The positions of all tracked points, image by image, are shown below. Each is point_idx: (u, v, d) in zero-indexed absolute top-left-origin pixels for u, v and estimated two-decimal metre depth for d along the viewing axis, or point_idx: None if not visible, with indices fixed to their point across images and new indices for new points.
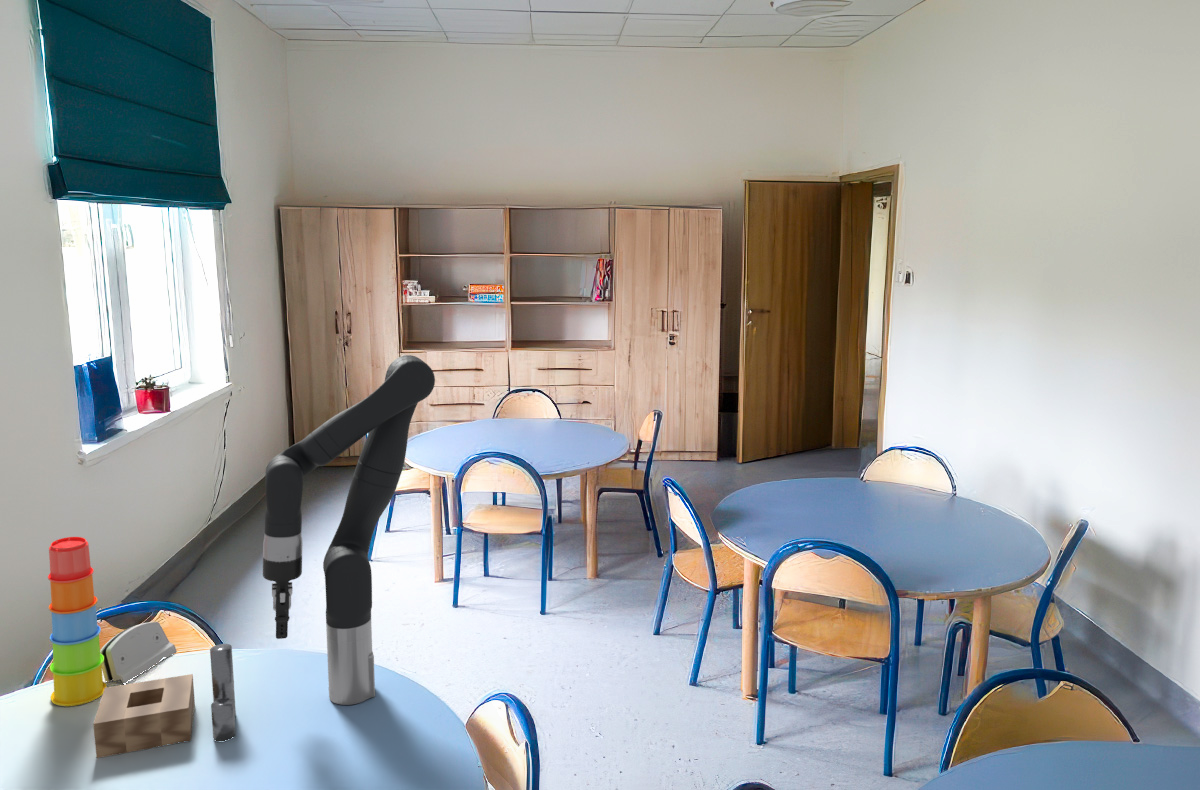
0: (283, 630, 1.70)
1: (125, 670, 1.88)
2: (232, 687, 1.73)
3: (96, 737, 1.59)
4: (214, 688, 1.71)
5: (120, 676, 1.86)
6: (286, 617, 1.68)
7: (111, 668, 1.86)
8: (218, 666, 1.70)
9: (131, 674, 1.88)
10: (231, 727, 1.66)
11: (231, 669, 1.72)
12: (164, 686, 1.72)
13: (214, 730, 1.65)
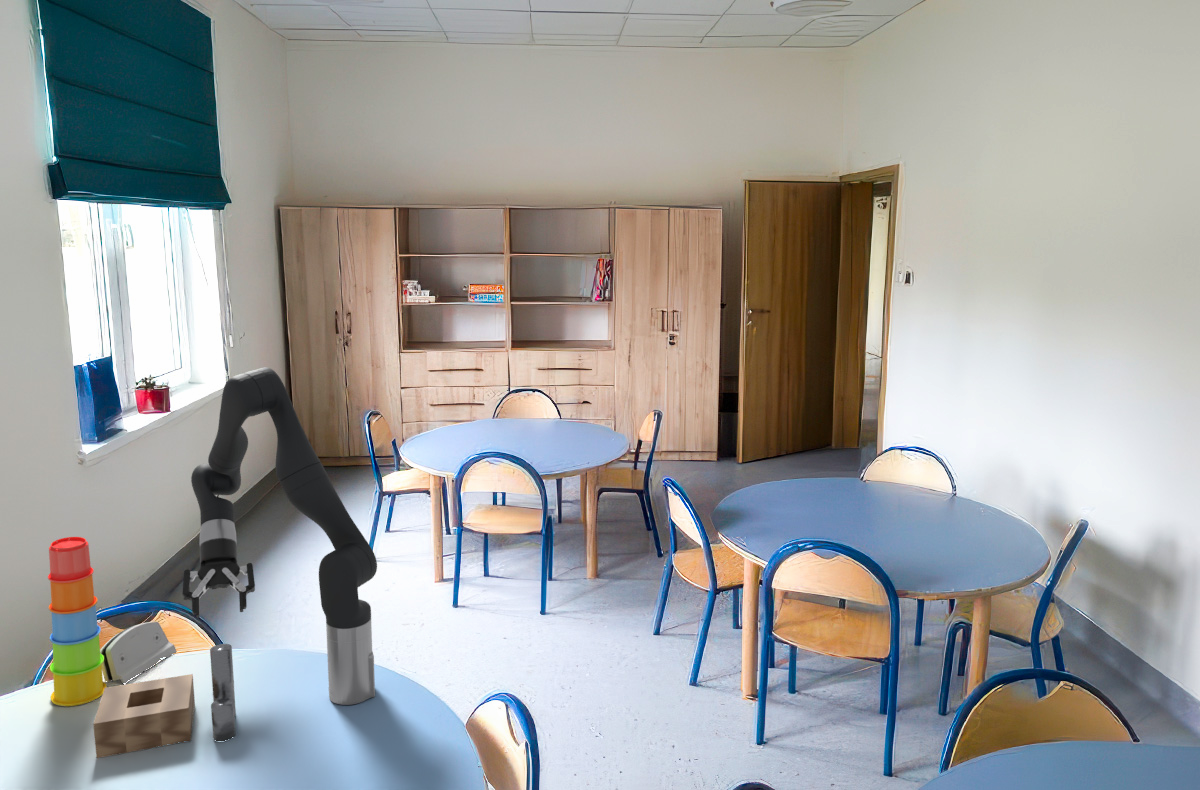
0: None
1: (125, 670, 1.88)
2: (232, 687, 1.73)
3: (96, 737, 1.59)
4: (214, 688, 1.71)
5: (120, 676, 1.86)
6: None
7: (111, 668, 1.86)
8: (218, 666, 1.70)
9: (131, 674, 1.88)
10: (231, 727, 1.66)
11: (231, 669, 1.72)
12: (164, 686, 1.72)
13: (214, 730, 1.65)
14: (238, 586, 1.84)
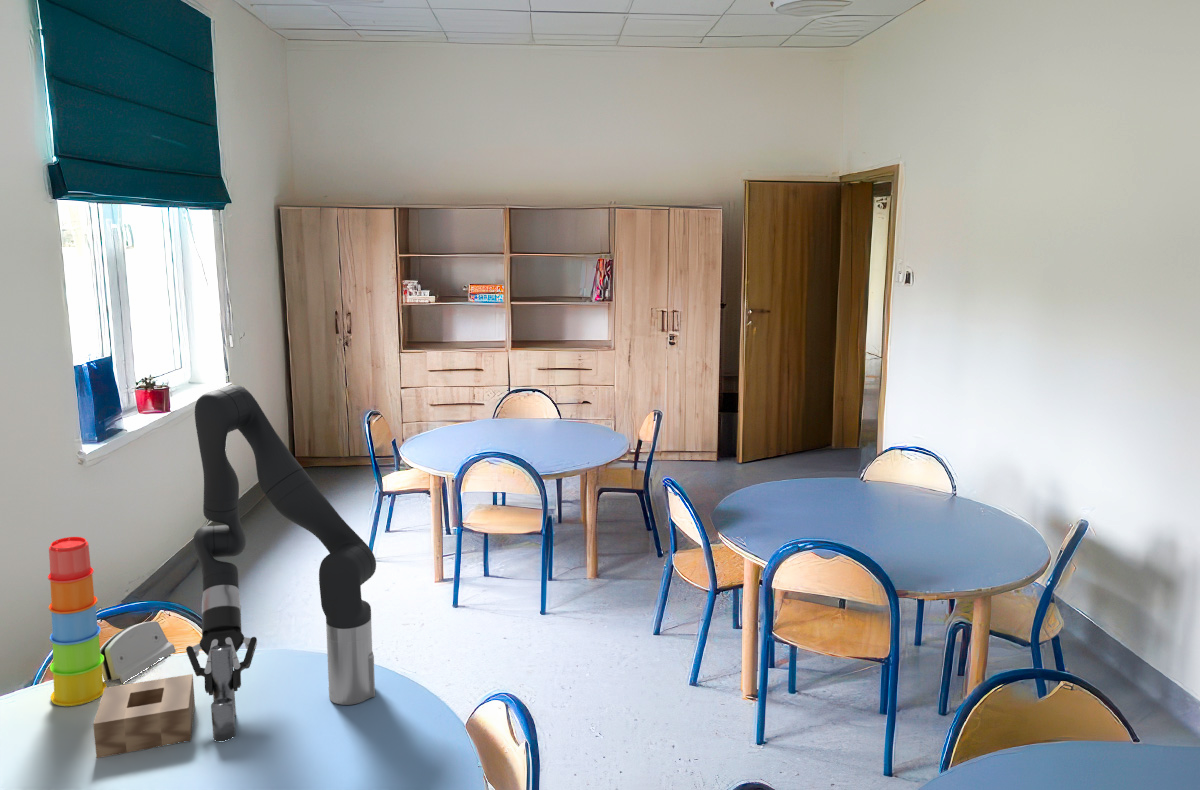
0: None
1: (124, 669, 1.88)
2: (232, 687, 1.73)
3: (96, 737, 1.59)
4: (214, 688, 1.71)
5: (119, 675, 1.86)
6: None
7: (110, 667, 1.86)
8: (218, 666, 1.70)
9: (130, 673, 1.88)
10: (231, 727, 1.66)
11: (231, 669, 1.72)
12: (164, 686, 1.72)
13: (214, 730, 1.65)
14: (234, 661, 1.74)
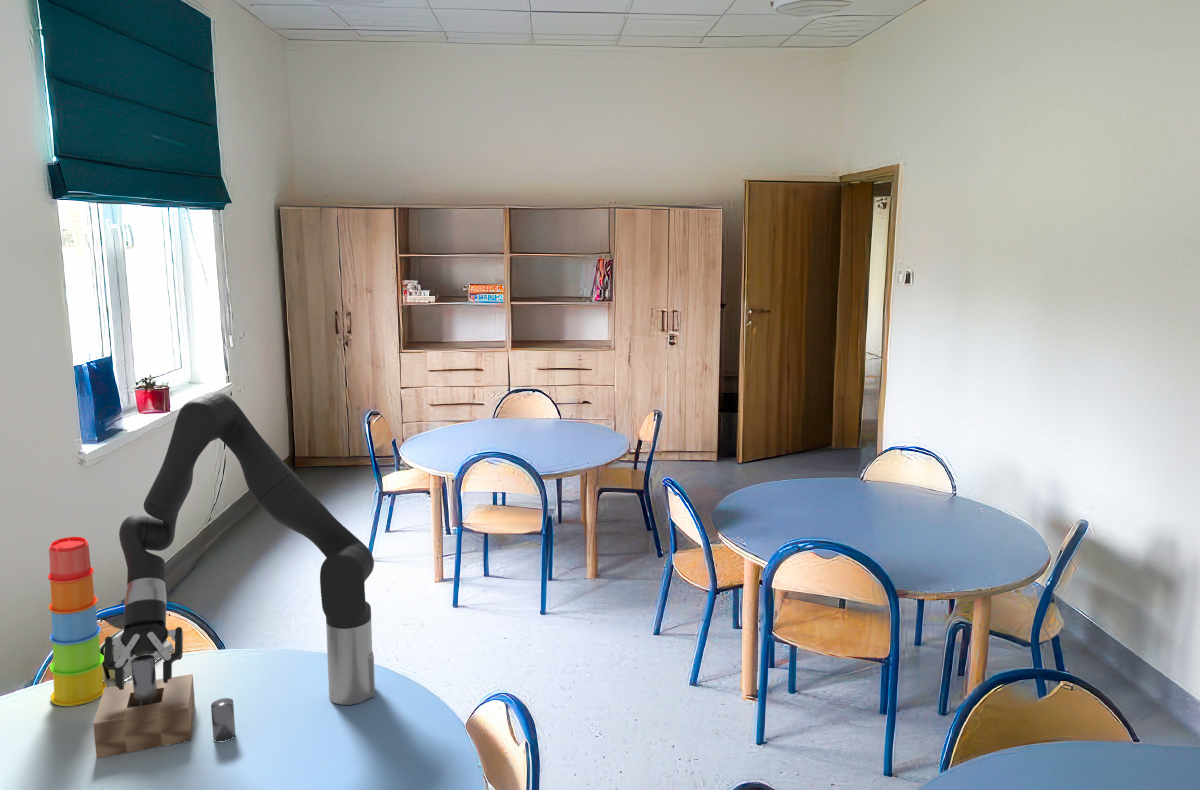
0: None
1: None
2: (155, 699, 1.68)
3: (96, 737, 1.59)
4: (136, 700, 1.66)
5: None
6: None
7: None
8: (140, 678, 1.65)
9: (129, 673, 1.88)
10: (231, 727, 1.66)
11: (154, 681, 1.67)
12: (164, 686, 1.72)
13: (214, 730, 1.65)
14: (163, 654, 1.69)
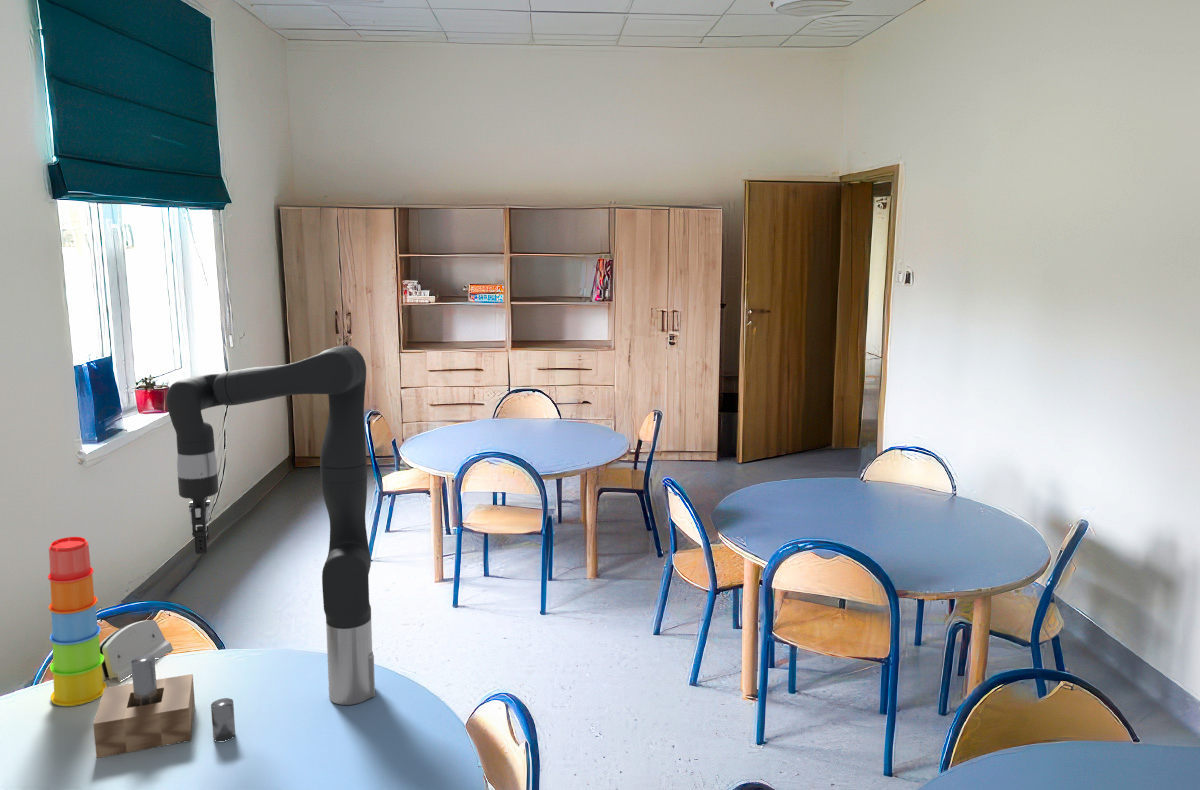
0: (202, 545, 1.75)
1: (121, 668, 1.89)
2: (155, 699, 1.68)
3: (96, 737, 1.59)
4: (136, 700, 1.66)
5: (116, 674, 1.87)
6: (203, 531, 1.73)
7: (107, 666, 1.87)
8: (140, 678, 1.65)
9: (127, 672, 1.89)
10: (231, 727, 1.66)
11: (154, 681, 1.67)
12: (164, 686, 1.72)
13: (214, 730, 1.65)
14: None
